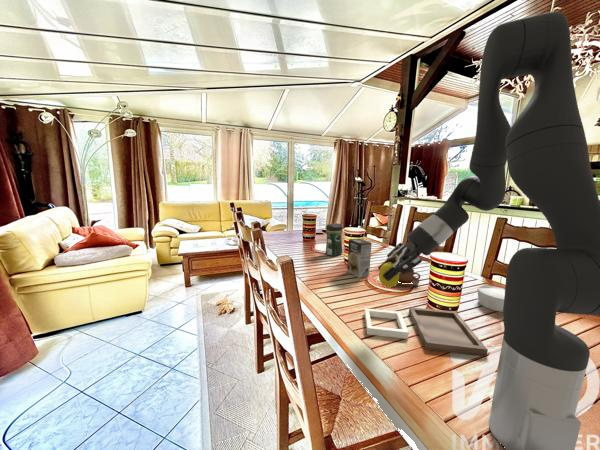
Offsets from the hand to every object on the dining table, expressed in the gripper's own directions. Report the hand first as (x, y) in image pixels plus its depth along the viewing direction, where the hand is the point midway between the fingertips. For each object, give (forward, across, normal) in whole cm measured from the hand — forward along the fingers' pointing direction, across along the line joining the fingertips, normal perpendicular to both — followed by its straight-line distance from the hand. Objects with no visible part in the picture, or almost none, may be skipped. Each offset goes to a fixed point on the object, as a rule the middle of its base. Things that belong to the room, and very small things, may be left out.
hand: (382, 274), depth 70 cm
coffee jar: (+19, -72, +2) cm, 74 cm away
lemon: (+2, 0, +4) cm, 5 cm away
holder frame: (+10, 0, +13) cm, 16 cm away
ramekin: (-19, -17, +42) cm, 49 cm away
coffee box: (+12, -42, +10) cm, 45 cm away
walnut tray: (-1, +1, +24) cm, 24 cm away
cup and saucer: (-1, -34, +24) cm, 41 cm away
